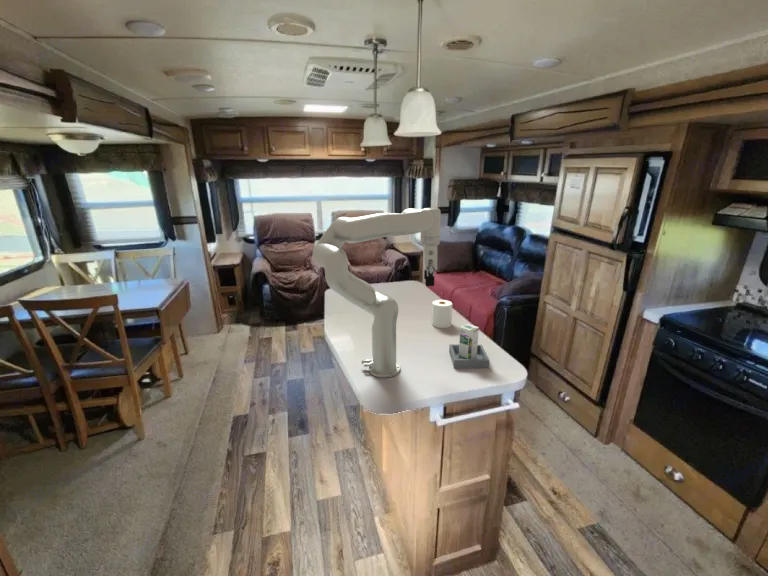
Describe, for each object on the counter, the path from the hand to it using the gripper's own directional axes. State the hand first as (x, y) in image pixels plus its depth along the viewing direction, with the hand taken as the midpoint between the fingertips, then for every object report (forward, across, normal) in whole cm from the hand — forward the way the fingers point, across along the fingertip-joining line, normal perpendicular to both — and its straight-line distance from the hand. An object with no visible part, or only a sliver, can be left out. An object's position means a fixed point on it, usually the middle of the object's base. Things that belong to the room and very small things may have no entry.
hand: (429, 282), depth 142 cm
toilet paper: (+34, +35, -10) cm, 50 cm away
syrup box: (+33, -3, -17) cm, 37 cm away
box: (+33, -3, -17) cm, 38 cm away
